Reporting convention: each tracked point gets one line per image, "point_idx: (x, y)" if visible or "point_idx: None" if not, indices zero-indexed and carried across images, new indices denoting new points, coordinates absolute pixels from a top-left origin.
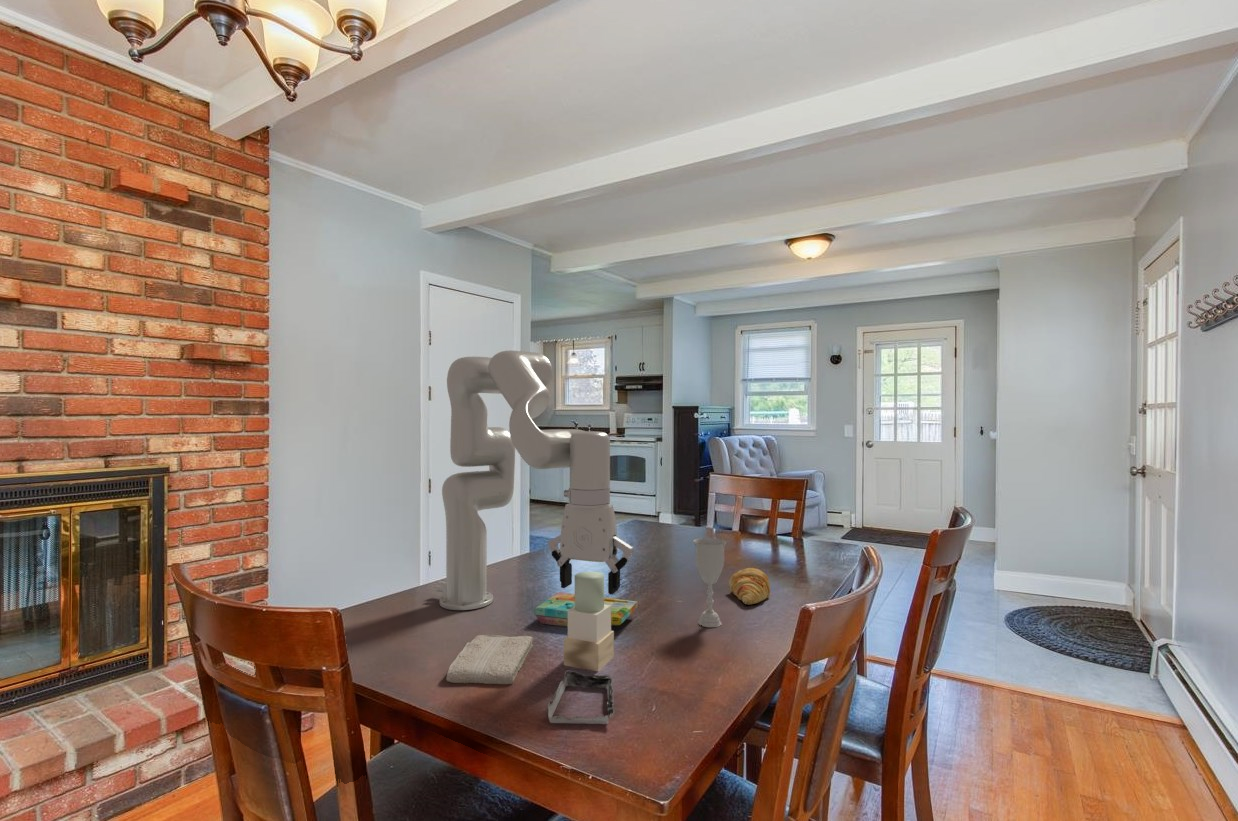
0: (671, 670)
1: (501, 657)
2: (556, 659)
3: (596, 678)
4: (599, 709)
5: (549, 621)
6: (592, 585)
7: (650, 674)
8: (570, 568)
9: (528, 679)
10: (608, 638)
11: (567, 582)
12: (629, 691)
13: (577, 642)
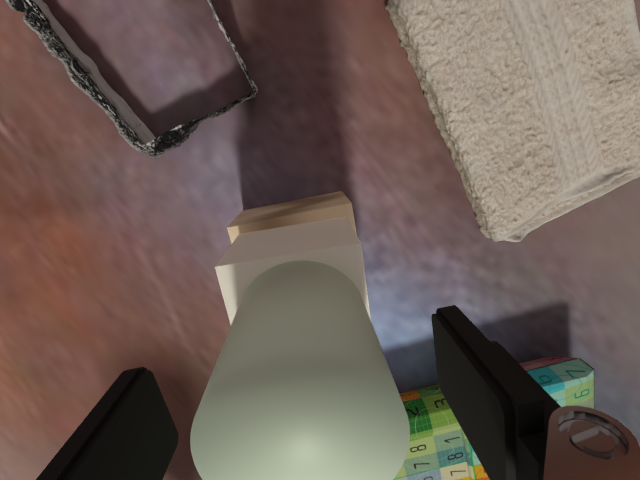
0: (107, 312)
1: (490, 59)
2: (379, 207)
3: (175, 129)
4: (93, 29)
5: (526, 364)
6: (222, 358)
7: (131, 268)
8: (489, 462)
9: (366, 63)
10: None
11: (444, 356)
12: (106, 162)
13: (301, 212)
